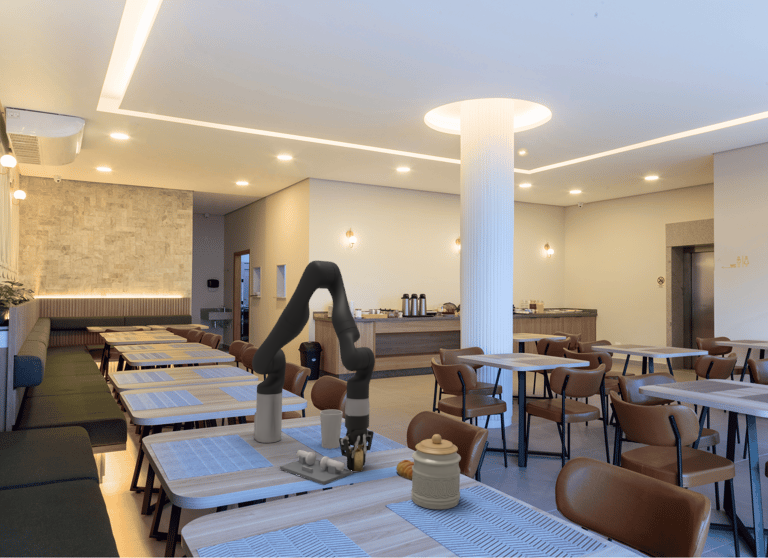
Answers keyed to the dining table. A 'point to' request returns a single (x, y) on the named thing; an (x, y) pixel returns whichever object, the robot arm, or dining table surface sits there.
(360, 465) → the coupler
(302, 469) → the shaft rig
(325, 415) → the cup
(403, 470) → the pastry
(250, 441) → the dining table surface
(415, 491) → the jar
